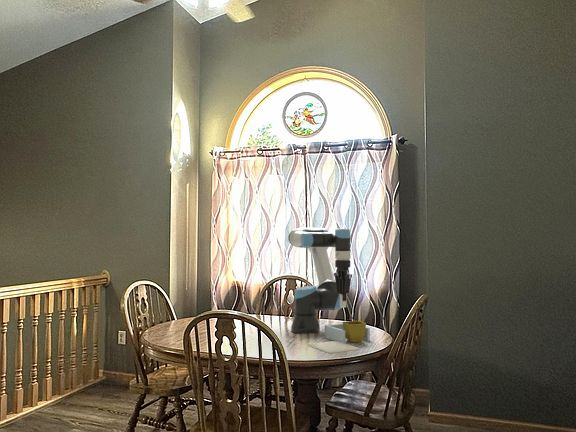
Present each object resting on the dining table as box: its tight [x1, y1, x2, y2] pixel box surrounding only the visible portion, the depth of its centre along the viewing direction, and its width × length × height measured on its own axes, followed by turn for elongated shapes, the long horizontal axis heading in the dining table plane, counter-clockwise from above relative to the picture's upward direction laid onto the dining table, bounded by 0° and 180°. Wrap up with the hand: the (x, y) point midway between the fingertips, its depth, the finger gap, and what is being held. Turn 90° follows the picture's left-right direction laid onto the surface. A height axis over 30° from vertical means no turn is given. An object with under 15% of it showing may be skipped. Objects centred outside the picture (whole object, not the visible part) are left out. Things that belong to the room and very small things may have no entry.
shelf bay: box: [324, 323, 371, 344], centre depth 257 cm, size 16×15×6 cm
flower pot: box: [342, 320, 367, 343], centre depth 252 cm, size 9×9×9 cm
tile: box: [307, 340, 360, 354], centre depth 239 cm, size 18×16×1 cm
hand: (342, 307), depth 260 cm, fingers closed
